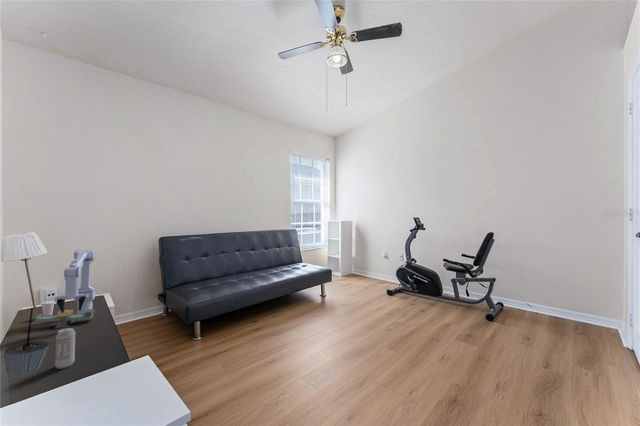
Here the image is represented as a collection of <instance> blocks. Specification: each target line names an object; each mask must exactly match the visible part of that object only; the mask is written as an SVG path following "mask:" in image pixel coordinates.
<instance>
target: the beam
mask: <svg viewBox="0 0 640 426" xmlns="http://www.w3.org/2000/svg"><path fill="white" fill-rule="evenodd" d="M94 314H95V308H92V309H88V310H87V311H86V312H85V314H77V313H73V315H72V316H71V317H67V318H57V314H52V315H43V313H40V314H38V315H37V316H35V317H34V318H35V319H34V323H46V322H60V319H65V321H68V320H75V321H85V320H91V319H92V318H93V317H94Z"/></svg>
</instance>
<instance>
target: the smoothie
mask: <svg viewBox="0 0 640 426" xmlns="http://www.w3.org/2000/svg"><path fill="white" fill-rule="evenodd" d="M48 300H49V295H46V300H45V302H41V304H40V305H41V309H42V315H53V311H54V305H55V303H56V301H55V300H50V301H48Z"/></svg>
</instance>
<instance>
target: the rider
mask: <svg viewBox="0 0 640 426" xmlns="http://www.w3.org/2000/svg"><path fill="white" fill-rule="evenodd" d="M73 314H74V309H64V312H63V313H61V310H59V311H57V314H56V315H57V318H67V317H71V316H72V315H73Z"/></svg>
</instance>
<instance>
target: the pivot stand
mask: <svg viewBox="0 0 640 426" xmlns="http://www.w3.org/2000/svg"><path fill="white" fill-rule="evenodd" d="M75 322H76V320H68V321H65V319H60V321H59V323H58V324H56V326H55V327H54V329H55V330H56V329H57V330H58V329H65V328H70V326H71V325H72V324H73V323H75Z"/></svg>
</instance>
